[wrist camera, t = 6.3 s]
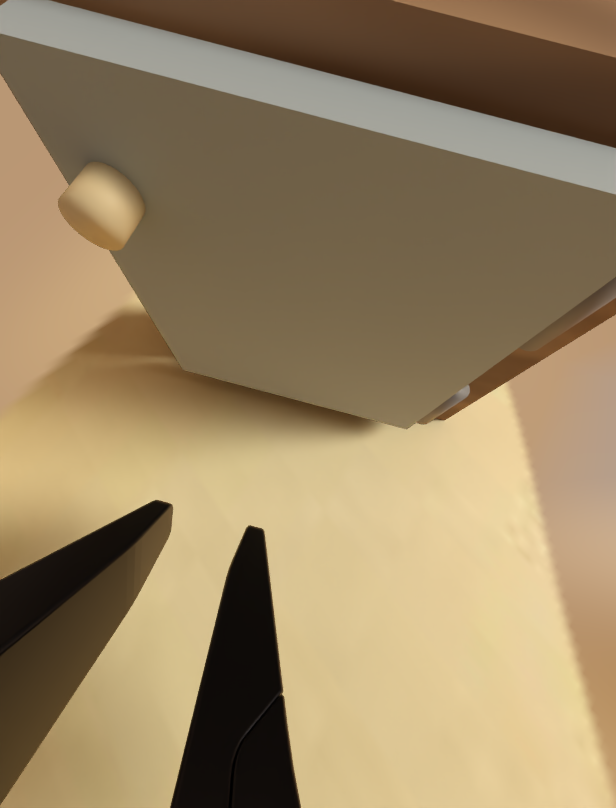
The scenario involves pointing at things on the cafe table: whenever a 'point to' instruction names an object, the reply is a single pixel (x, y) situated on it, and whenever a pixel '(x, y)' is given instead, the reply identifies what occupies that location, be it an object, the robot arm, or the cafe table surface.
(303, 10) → the cabinet frame
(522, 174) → the cabinet door
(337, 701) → the cafe table surface
